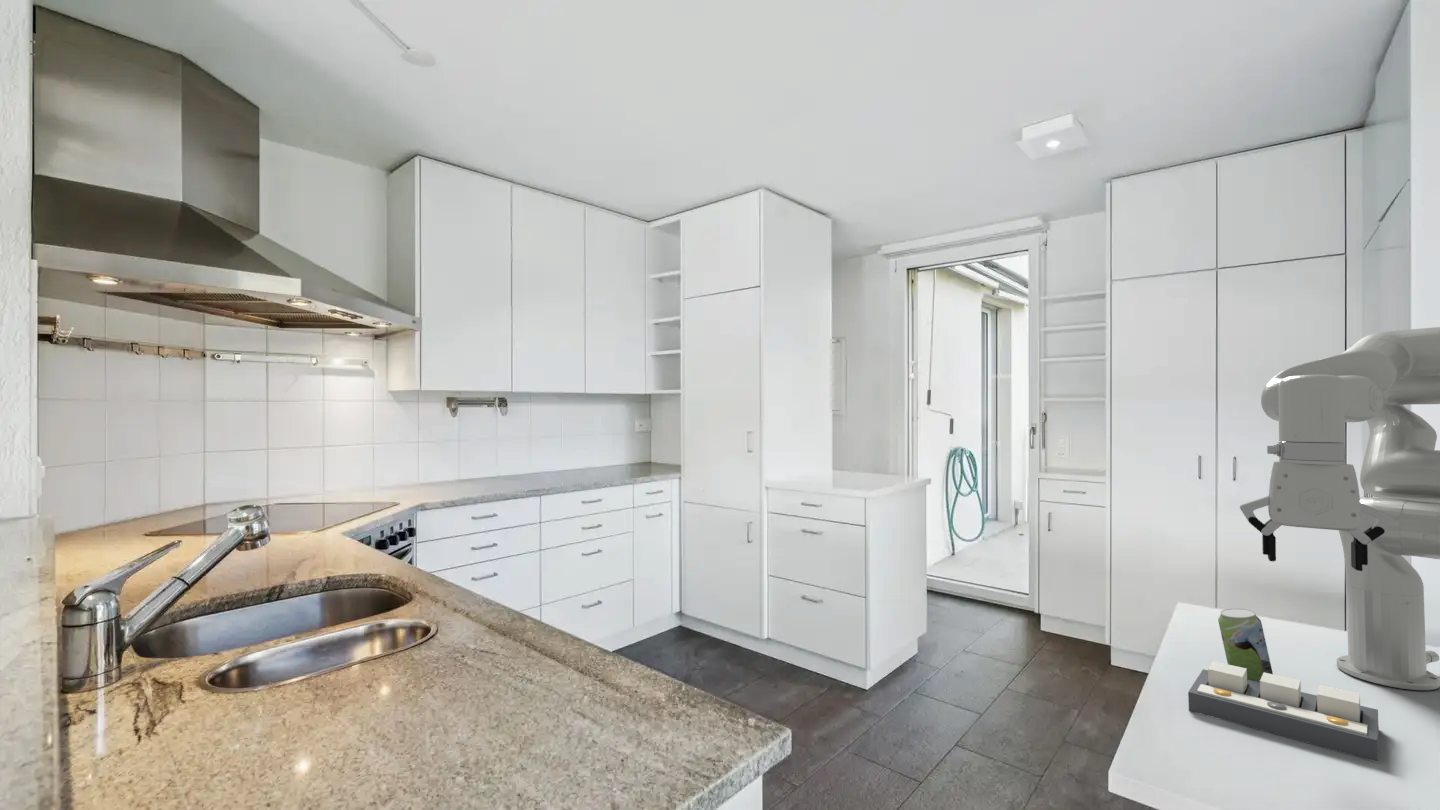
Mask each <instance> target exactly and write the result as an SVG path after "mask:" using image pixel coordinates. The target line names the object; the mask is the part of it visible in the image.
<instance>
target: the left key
mask: <svg viewBox="0 0 1440 810" xmlns="http://www.w3.org/2000/svg"><path fill="white" fill-rule="evenodd" d="M1207 670H1208V682H1209V686H1213V687H1217V688H1221V689H1225V690H1229V691H1233V692H1237V693H1242V694H1244V693H1245V691H1246V689H1247V668H1242V667H1237V666H1233V665H1228V663H1223V662H1219V661H1214V660H1213V661H1212V662H1211V663H1210V665H1209V667H1208V669H1207Z"/></svg>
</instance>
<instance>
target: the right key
mask: <svg viewBox="0 0 1440 810" xmlns="http://www.w3.org/2000/svg"><path fill="white" fill-rule="evenodd" d="M1316 695H1317V710H1318V712H1319V713H1323V714H1327V715H1331V716H1335V717H1339V718H1344V719H1348V720H1352V721H1356V722H1360V706H1361V693H1359V692H1354V691H1350V690H1345V689H1341V688H1336V687H1331V686H1326V685H1323V684H1319V685H1318V687H1317V693H1316Z"/></svg>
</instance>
